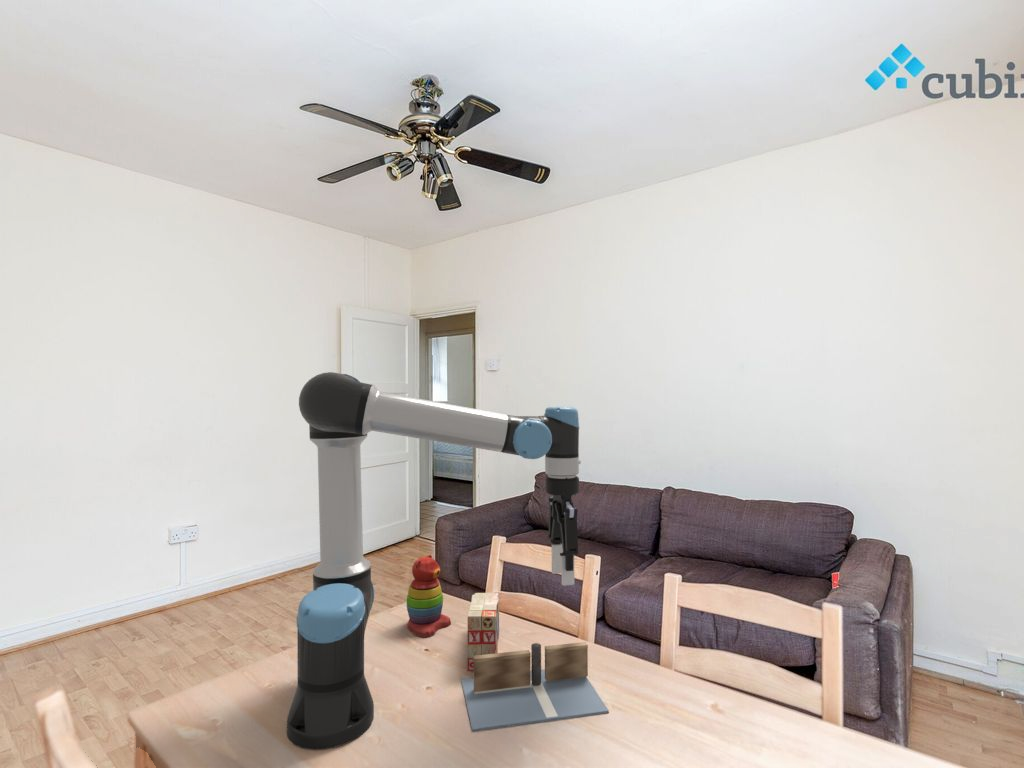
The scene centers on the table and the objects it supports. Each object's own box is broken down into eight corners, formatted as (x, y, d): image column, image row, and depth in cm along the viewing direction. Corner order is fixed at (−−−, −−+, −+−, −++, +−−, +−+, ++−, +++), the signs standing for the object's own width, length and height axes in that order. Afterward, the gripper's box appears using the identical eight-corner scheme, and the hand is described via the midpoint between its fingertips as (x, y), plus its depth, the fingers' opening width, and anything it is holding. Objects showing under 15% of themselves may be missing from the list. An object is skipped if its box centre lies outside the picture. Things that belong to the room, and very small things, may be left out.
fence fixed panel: (474, 693, 106) (474, 654, 106) (473, 688, 108) (473, 649, 108) (542, 685, 109) (542, 647, 109) (539, 680, 111) (539, 642, 111)
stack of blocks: (475, 628, 136) (475, 580, 137) (499, 628, 136) (499, 580, 136) (467, 672, 115) (467, 615, 115) (496, 672, 115) (495, 615, 115)
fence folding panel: (546, 681, 109) (546, 649, 109) (544, 678, 111) (544, 646, 111) (587, 676, 111) (587, 644, 111) (585, 673, 112) (585, 641, 113)
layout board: (472, 731, 95) (472, 728, 95) (461, 680, 111) (461, 678, 111) (608, 712, 100) (608, 710, 100) (578, 667, 117) (578, 665, 117)
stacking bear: (427, 639, 130) (427, 566, 130) (396, 630, 135) (396, 560, 136) (454, 623, 139) (454, 555, 140) (424, 614, 145) (424, 549, 145)
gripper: (593, 482, 110) (594, 593, 109) (564, 468, 129) (565, 563, 129) (559, 483, 108) (559, 596, 108) (534, 469, 128) (535, 565, 127)
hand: (562, 578), depth 118 cm, fingers open, 7 cm apart
